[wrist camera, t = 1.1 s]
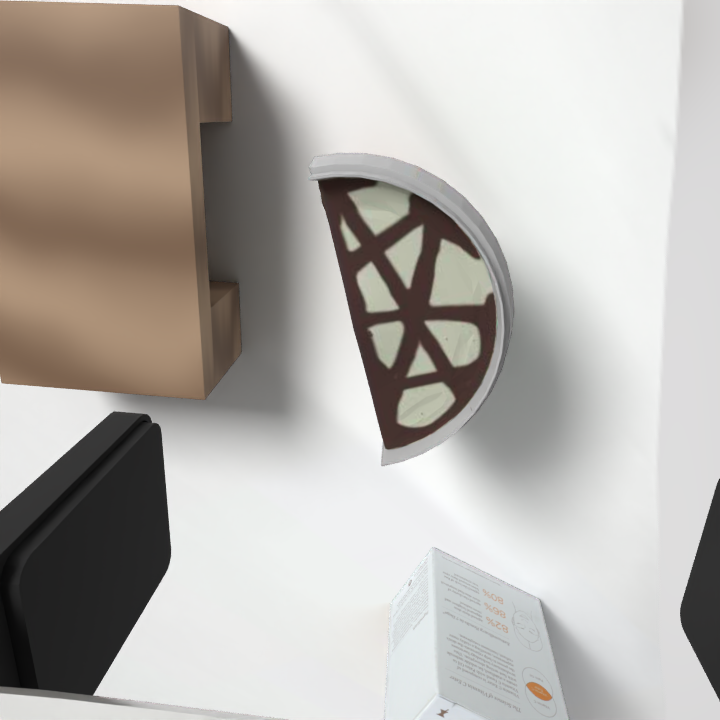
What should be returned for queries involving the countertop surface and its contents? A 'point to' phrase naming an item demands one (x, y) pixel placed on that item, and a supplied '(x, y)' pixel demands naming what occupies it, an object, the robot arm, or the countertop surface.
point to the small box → (468, 649)
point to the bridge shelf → (110, 199)
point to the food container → (417, 295)
